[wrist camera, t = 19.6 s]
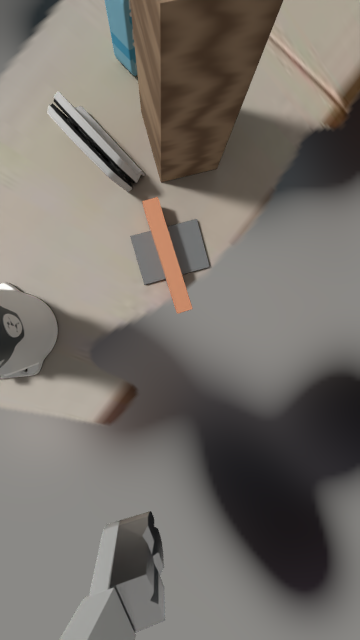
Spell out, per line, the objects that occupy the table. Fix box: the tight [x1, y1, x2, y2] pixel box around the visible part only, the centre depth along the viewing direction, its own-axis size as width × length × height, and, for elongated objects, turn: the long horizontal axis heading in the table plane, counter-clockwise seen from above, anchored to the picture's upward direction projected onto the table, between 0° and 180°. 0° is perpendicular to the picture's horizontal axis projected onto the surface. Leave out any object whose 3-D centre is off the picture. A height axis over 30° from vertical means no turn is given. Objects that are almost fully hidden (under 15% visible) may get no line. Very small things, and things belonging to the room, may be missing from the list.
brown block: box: [130, 0, 283, 182], centre depth 31 cm, size 12×14×26 cm
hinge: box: [47, 91, 145, 192], centre depth 39 cm, size 17×5×10 cm, turn 45°
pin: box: [142, 197, 192, 313], centre depth 43 cm, size 3×22×3 cm, turn 17°
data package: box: [105, 0, 138, 76], centre depth 37 cm, size 12×4×12 cm, turn 138°
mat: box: [130, 219, 210, 285], centre depth 45 cm, size 14×10×1 cm
